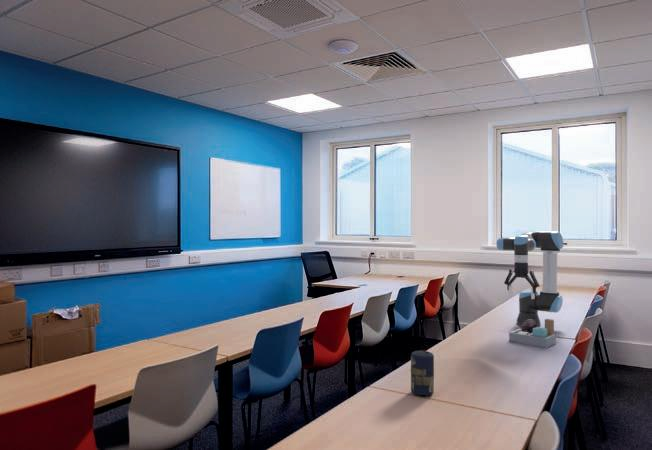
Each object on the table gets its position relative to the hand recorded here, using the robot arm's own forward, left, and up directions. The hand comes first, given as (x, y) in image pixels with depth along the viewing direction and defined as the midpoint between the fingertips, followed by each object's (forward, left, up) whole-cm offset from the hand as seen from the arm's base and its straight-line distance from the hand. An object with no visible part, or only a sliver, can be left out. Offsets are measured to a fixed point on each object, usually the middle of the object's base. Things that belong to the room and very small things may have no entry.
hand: (521, 297), depth 271 cm
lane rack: (-3, +5, -26) cm, 27 cm away
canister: (+111, +7, -26) cm, 114 cm away
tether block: (-7, +10, -26) cm, 29 cm away
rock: (-22, -5, -26) cm, 34 cm away
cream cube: (-1, 0, -26) cm, 26 cm away
